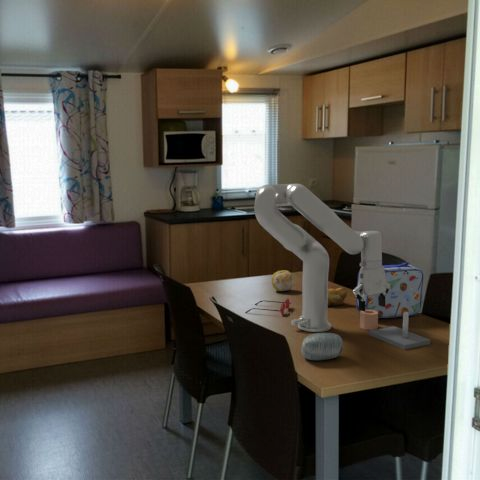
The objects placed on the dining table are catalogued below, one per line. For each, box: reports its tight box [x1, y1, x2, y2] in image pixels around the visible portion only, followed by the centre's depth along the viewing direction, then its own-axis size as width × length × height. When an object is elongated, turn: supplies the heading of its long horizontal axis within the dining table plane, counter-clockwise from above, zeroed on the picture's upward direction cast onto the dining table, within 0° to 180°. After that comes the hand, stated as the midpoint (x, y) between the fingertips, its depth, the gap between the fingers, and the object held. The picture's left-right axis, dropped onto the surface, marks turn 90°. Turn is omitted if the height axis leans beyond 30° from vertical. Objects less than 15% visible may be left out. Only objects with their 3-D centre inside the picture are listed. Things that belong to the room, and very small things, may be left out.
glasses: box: [244, 298, 292, 315], centre depth 242 cm, size 14×16×5 cm
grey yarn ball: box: [301, 332, 344, 361], centre depth 186 cm, size 14×10×10 cm
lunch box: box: [355, 262, 425, 319], centre depth 232 cm, size 28×10×22 cm, turn 106°
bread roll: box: [328, 286, 348, 307], centre depth 251 cm, size 13×10×8 cm
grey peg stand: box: [368, 312, 431, 350], centre depth 203 cm, size 12×18×11 cm, turn 28°
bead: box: [359, 310, 379, 331], centre depth 218 cm, size 6×6×6 cm
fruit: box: [271, 269, 295, 292], centre depth 274 cm, size 10×11×10 cm
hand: (372, 308), depth 217 cm, fingers open, 9 cm apart
